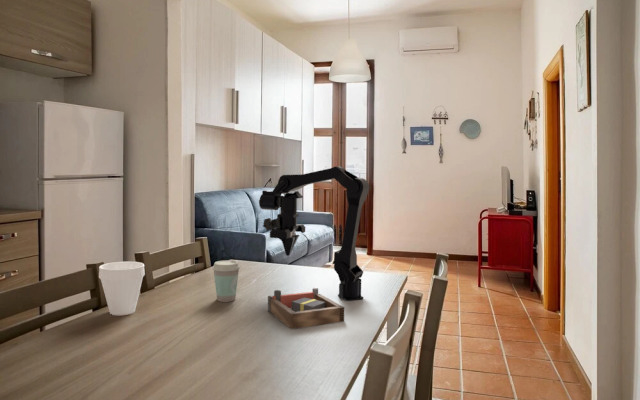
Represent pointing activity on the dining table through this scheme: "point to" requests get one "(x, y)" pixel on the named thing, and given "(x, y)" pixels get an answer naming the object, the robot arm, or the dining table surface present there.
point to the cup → (121, 285)
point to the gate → (293, 296)
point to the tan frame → (307, 313)
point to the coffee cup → (226, 279)
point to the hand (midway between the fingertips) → (288, 255)
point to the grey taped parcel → (307, 304)
